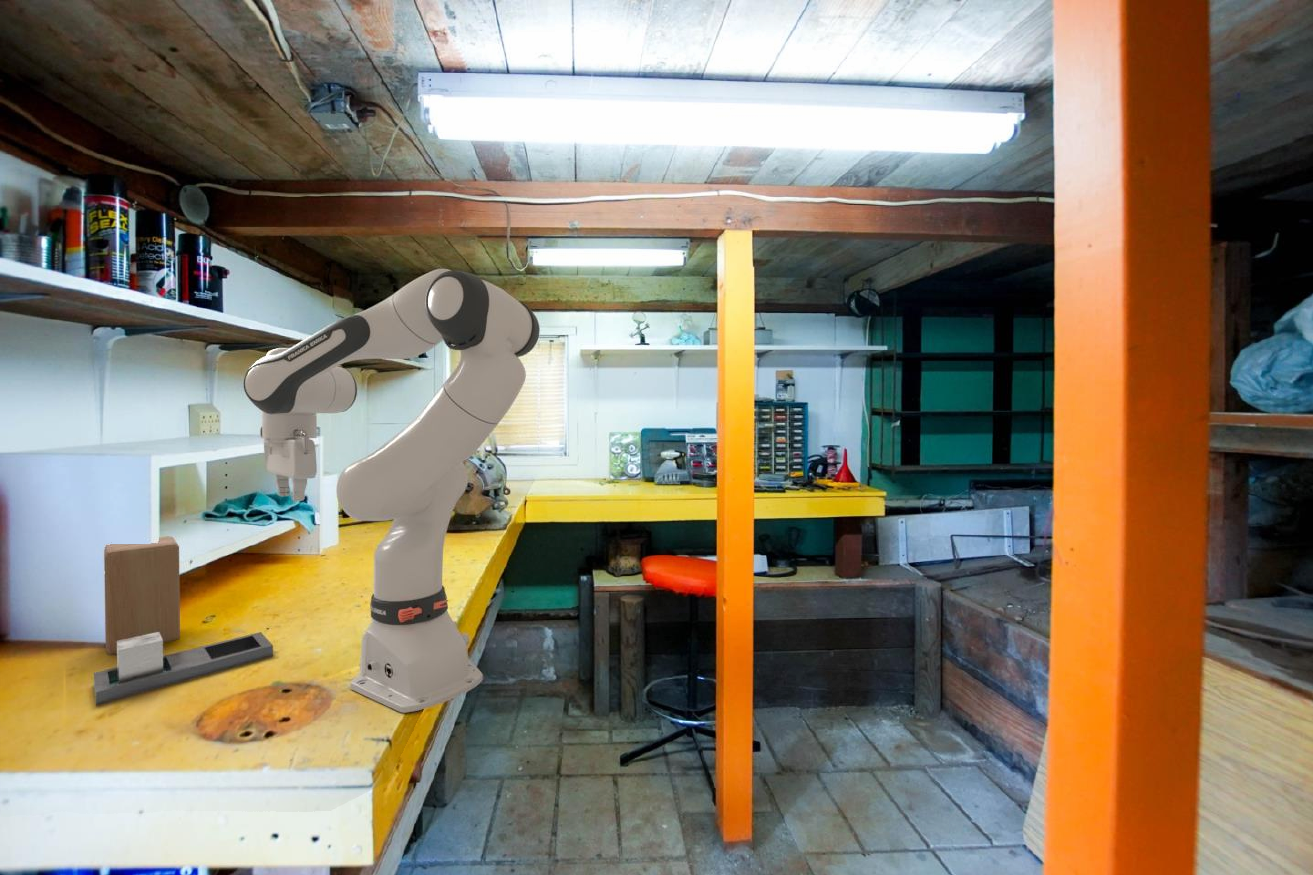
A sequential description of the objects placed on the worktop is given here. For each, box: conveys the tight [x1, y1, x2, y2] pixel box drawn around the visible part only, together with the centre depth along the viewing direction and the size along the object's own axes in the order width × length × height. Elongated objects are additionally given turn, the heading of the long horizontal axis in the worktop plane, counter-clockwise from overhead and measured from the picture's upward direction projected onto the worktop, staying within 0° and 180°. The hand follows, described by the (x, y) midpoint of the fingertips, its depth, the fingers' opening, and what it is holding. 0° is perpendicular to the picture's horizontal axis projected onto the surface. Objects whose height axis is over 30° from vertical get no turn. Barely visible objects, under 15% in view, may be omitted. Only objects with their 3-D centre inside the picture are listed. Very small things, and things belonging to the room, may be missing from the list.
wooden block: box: [103, 535, 181, 655], centre depth 99 cm, size 10×10×20 cm
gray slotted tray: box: [93, 631, 274, 706], centre depth 88 cm, size 9×22×3 cm, turn 140°
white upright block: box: [116, 632, 164, 684], centre depth 83 cm, size 5×5×7 cm
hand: (290, 498), depth 101 cm, fingers open, 8 cm apart
